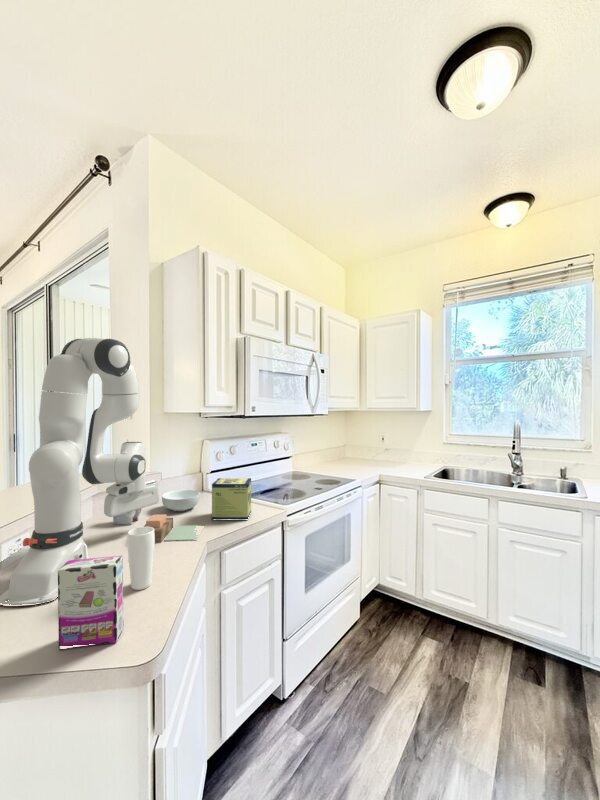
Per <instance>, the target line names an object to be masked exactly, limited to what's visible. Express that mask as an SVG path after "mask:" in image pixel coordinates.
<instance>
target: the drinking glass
mask: <svg viewBox="0 0 600 800" xmlns="http://www.w3.org/2000/svg"><path fill="white" fill-rule="evenodd" d="M144 526H145V525H144ZM144 526H139V527H134V528H132V529H130V530H129V531H128V532H127V537H126V538H127V540H126V541H127V542H126V543H127V544H126V545H127V546H126V547H127V555H128V556H127V558H128V565H129V566H128V567H129V568H128V569H129V578H130V588H131V589H132V590H135V591H141V590H144V589H147V588H149V587H150V586H151V585H152V584H153V583H152V582H153V571H154V570H153V568H154V559H155V558H154V557H155V556H154V555H155V532H154V528H153V527H148V526H145V527H144Z"/></svg>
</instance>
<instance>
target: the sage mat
mask: <svg viewBox="0 0 600 800" xmlns="http://www.w3.org/2000/svg"><path fill="white" fill-rule="evenodd" d="M196 526H198V525H194V524H193V525H175V526H174V527H173V529H172V530H171V531H170V532H169V533H168V535H167V536H166V537H165V538H164V539H163V541H164V542H177V541H176V540H189V541H194V540H193V539H197V538H198V539H199V537H196V536H198V535H196V532H197V530H194V529H195V528H196ZM194 531H196V532H194ZM198 539H197V540H198Z"/></svg>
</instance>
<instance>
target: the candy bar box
mask: <svg viewBox="0 0 600 800" xmlns="http://www.w3.org/2000/svg"><path fill="white" fill-rule="evenodd" d="M123 562H124V561H123V555H113V556H103V557H91V558H90V557H89V558H88V559H79V560H69V561H67V562H66V563H65V564H64V565H63V566H62V567H61V568H60V569H59V570H58V598H57V605H58V606H57V611H58V613H57V615H58V618H57V619H58V647H59V646H73V645H89V644H102V645H106V644H105V643H109V644H115V643H117V642H118V640H119V638H120V636H121V634H122V633H123V630H124V579H123V578H124V577H123V576H124V574H123V573H124V571H123V569H124V567H123Z"/></svg>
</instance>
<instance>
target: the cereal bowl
mask: <svg viewBox="0 0 600 800" xmlns="http://www.w3.org/2000/svg"><path fill="white" fill-rule="evenodd" d="M200 498H201V493H200V491H198V490H194V489H176V490H171V491H167V492H164V493H163V494H162V495H161V502H162V505H163V506H164V508H166V509H168V510H171V511H172V510H173V512H176V511H181V512H186V511H188V509H189V510H190V509H192V508H194V507H195V506H197V505H198V503H200ZM185 510H186V511H185Z"/></svg>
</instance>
